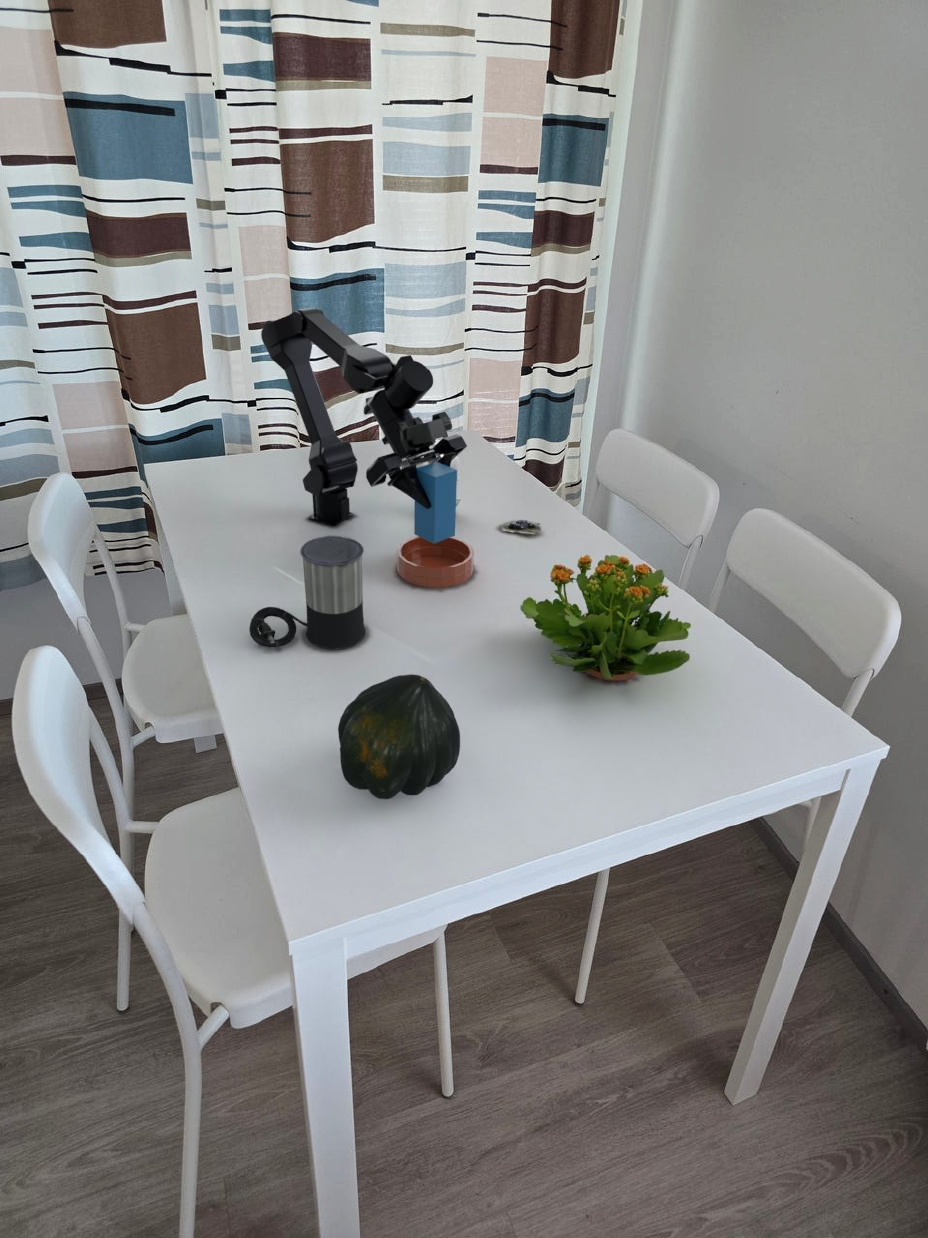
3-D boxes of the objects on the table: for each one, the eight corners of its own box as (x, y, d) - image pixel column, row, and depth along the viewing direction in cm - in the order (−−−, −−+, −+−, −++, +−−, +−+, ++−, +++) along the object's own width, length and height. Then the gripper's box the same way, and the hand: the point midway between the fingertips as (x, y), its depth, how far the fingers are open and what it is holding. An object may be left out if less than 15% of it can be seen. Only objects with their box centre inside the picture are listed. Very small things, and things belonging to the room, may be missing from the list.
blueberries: (542, 538, 165) (542, 529, 164) (500, 536, 165) (501, 527, 164) (540, 523, 171) (540, 514, 170) (499, 521, 171) (500, 513, 170)
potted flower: (660, 618, 140) (677, 520, 131) (728, 703, 120) (753, 595, 111) (512, 631, 135) (520, 530, 126) (558, 723, 115) (571, 611, 106)
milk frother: (378, 635, 133) (376, 549, 125) (296, 675, 123) (289, 585, 115) (320, 602, 141) (315, 519, 133) (239, 637, 131) (228, 550, 123)
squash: (294, 742, 102) (360, 691, 92) (370, 685, 113) (436, 635, 103) (365, 838, 102) (440, 797, 92) (434, 771, 113) (507, 729, 103)
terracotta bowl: (382, 576, 149) (382, 556, 147) (423, 548, 159) (423, 528, 157) (448, 596, 144) (448, 575, 142) (485, 566, 154) (486, 546, 152)
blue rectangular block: (414, 534, 148) (414, 468, 142) (435, 526, 151) (436, 461, 145) (433, 543, 145) (435, 477, 139) (455, 535, 148) (457, 469, 142)
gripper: (375, 408, 132) (423, 496, 132) (461, 387, 144) (505, 468, 143) (345, 444, 141) (390, 526, 140) (428, 421, 153) (470, 497, 152)
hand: (440, 503), depth 144 cm, fingers closed on blue rectangular block, 5 cm apart
